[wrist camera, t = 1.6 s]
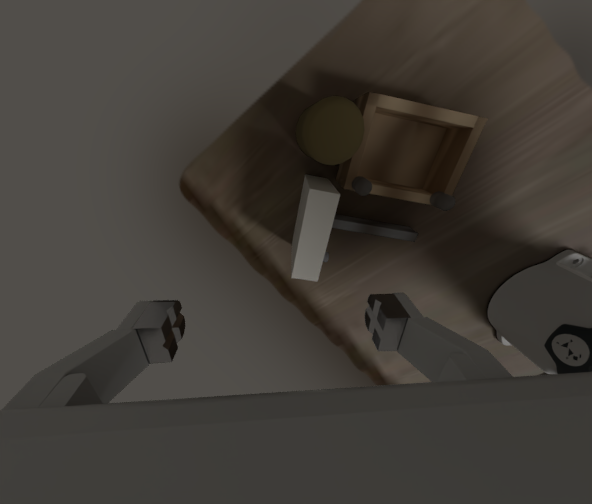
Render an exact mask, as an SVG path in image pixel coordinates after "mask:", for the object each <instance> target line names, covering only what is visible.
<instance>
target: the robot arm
mask: <svg viewBox="0 0 592 504" xmlns="http://www.w3.org/2000/svg"><path fill="white" fill-rule="evenodd" d="M367 302H368V304H369V307H368V308H367V309H366V311H365V323H366V326H367V329H368V331H370V332H371V333H372V334H373V337H372V340H373V342H374V344H375V346H376V348H377V350H378V351H397V352H398V353H399V354H401V355H402V356H403V357H404V358H405V359H406V360H408V361H409V362H410V363H411V364H412V365H413V366H414V367H416V368H417V369H418V370H419V371H420V372H421V373H423V374H424V375H425V376H426V377H427V378H428V379H429V380H431V381H432V382H429V383H413V384H398V385H382V386H367V387H352V388H336V389H321V390H306V391H291V392H276V393H260V394H246V395H245V394H244V395H229V396H214V397H199V398H184V399H168V400H153V401H138V402H124V403H123V402H122V403H109V402H110V401H111V400H112V399H113V398H114V397H115V396H116V395H117V394H118V393H119V392H121V391H122V390H123V389H124V388H125V387H126V386H127V385H128V384H129V383H130V382H131V381H132V380H133V379H134V378H136V377H137V376H138V375H139V374H140V373H141V372H142V371H143V370H144V369H145V368H146V367H147V366H149V364H153V363H165V362H172V361H173V358H174V356H175V354H176V351H177V349H178V346H177V342H179V341H180V340H181V339H182V337H183V334H184V330H185V319H184V316H183V315H182V314H181V313H180V311H181V309H182V307H181V303H180V302H179V301H178V300H170V301H169V300H163V301H160V300H158V301H139V302H137V303H136V305H135V306H134V307H133V308H132V310H131V311H130V313H129V314H128V315H127V316H126V318H125V319H124V320H123V322H122V323H121V324H120V325H119V327H118V328H117V329H116V330H111V331H109V332H108V333H106V334H104V335H103V336H101V337H100V338H97V339H96V340H94V341H92V342H91V343H89V344H87V345H85V346H84V347H82V348H80V349H79V350H77V351H75V352H73V353H72V354H70V355H68V356H66V357H65V358H63V359H61V360H60V361H58V362H56V363H54V364H53V365H51V366H49V367H48V368H46V369H44V370H42V371H41V372H39V373H37V374H35V375H34V377H32V378H31V380H30V381H29V382H28V383H27V384H26V385H25V386H24V387H23V388H22V389H21V390H20V391H19V392H18V393H17V394H16V395H15V396H14V397H13V398H12V399H11V401H10V402H9V403H8V404H7V405H6V406H5V407H4V408H3V409H2V410H0V504H592V259H591V258H589V257H587V256H584V255H582V254H580V253H578V252H575V251H573V250H565V251H563V252H561V253H559V254H557V255H556V256H554V257H553V258H551V259H550V260H548V261H546V262H544V263H541V264H538V265H535V266H532V267H529V268H527V269H525V270H523V271H521V272H519V273H517V274H516V275H514V276H513V277H511V278H510V279H509V280H507V281H506V282H505V283H504V284H503V285H502V286H501V287H500V288H499V289H498V290H497V291H496V293H495V294H494V295H493V297H492V299H491V301H490V303H489V306H488V319H489V321H490V323H491V325H492V326H493V327H494V328H495V329H496V331H497V339H498V341H499V342H501V343H502V344H503V345H513V346H514V347H515V348H516V349H517V350H518V351H520V352H521V353H522V354H523V355H524V356H526V357H527V358H528V359H529V360H530V361H532V362H533V363H534V364H535V365H536V366H538V367H539V368H540V369H541V370H543V371H544V372H546V373H548V374H552V375H536V376H521V377H513V376H512V375H511V374H510V373H509V372H508V371H507V370H506V369H505V368H504V367H503V366H502V365H501V364H500V363H499V361H498V360H497V359H496V358H495V357H494V356H493V355H492V354H491V353H490V352H489V351H488V350H486V349H485V348H483V347H481V346H479V345H477V344H475V343H474V342H472V341H470V340H468V339H466V338H464V337H462V336H461V335H459V334H457V333H455V332H453V331H451V330H450V329H448V328H446V327H444V326H442V325H440V324H439V323H437V322H435V321H433V320H431V319H429V318H428V317H423V316H422V314H421V313H420V312H419V311H418V309H417V308H416V307H415V305H414V304H413V303H412V302H411V300H410V299H409V298H408V297H407V295H406V294H404V293H392V294H370V295H369V297H368V301H367Z"/></svg>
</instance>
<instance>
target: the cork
mask: <svg viewBox="0 0 592 504" xmlns="http://www.w3.org/2000/svg"><path fill="white" fill-rule="evenodd" d="M364 131H365V129H364V119H363V117H362V114H361V112H360V110H359V108H358V107H357V106H356V105H355V104H354V103H353V102H352V101H350V100H349V99H347V98H345V97H341V96H330V97H326V98H323V99H321V100H320V101H318V102H317V103H315V104H314V105H312V106H310V107H309V108H307V109H306V110H305V111H304V112H303V113H302V114H301V116H300V117H299V120H298V122H297V125H296V139H297V143H298V145H299V147H300V149H301V150H302V151H303V152H304V153H305V154H306V155H307V156H309V157H311V158H313V159H315V160H316V161H318V162H320V163H322V164H325V165H336V164H341V163H343V162H345V161H347V160H348V159H350V158H351V157H352V156H353V155H354V154H355V153H356V152H357V151H358V149H359V147H360V145H361V143H362V141H363V136H364Z"/></svg>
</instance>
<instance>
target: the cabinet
mask: <svg viewBox="0 0 592 504" xmlns="http://www.w3.org/2000/svg"><path fill="white" fill-rule="evenodd" d="M355 105H356V106H357V107H358V108H359V110H360V112H361V114H362V117H363V119H364V129H365V131H364V136H363V141H362V143H361V145H360V147H359V149H358V151H357V152H356V153H355V154H354V155H353V156H352V157H351V158H350V159H348V160H347V161H345V162H343V163H341V164H339V168H338V172H337V176H336V181H337V182H338V183H339V184H340V185H341V186H342V187H343V189H347V190H353V191H356V192H357V193H358V194H359V195H362V196H365V195H368V194H374V195H380V196H385V197H390V198H396V199H401V200H407V201H412V202H417V203H423V204H428V205H433V206H435V207H437V208H439V209H441V210H443V211H447V210H450V209H451V208H452V207H453V206H454V205H455V198H454V197H453V196H452V194H453V192H454V190H455V188H456V186H457V184H458V182H459V179H460V177H461V175H462V173H463V171H464V169H465V167H466V164H467V162H468V160H469V158H470V156H471V154H472V152H473V149H474V147H475V145H476V143H477V141H478V139H479V137H480V134H481V132H482V130H483V128H484V126H485V124H486V121H487V119H488V118H483V117H479V116H475V115H470V114H466V113H461V112H457V111H453V110H448V109H444V108H439V107H435V106H431V105H426V104H422V103H417V102H413V101H408V100H404V99H400V98H395V97H391V96H386V95H382V94H378V93H373V92H368V93H366V94H364V95H363V96H361V97H359V98H357V99H355ZM332 228H336V229H342V230H348V231H354V232H360V233H366V234H371V235H377V236H383V237H389V238H395V239H401V240H407V241H413V242H415V240H416V238H417V235H418V233H417V232H416V231H414V230H413V229H412V228H411V227H407V226H401V225H396V224H390V223H384V222H378V221H373V220H367V219H361V218H356V217H350V216H344V215H338V214H335V217H334V221H333V225H332Z"/></svg>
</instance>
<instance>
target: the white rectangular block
mask: <svg viewBox="0 0 592 504" xmlns="http://www.w3.org/2000/svg"><path fill="white" fill-rule="evenodd" d="M339 198H340V193H339V192H338V191H337V189H336V188H335V187H334V186H333V184H332V183H331V182H330V180H329V179H328V178H323V177H317V176H312V175H307V174H305V177H304V183H303V188H302V193H301V198H300V203H299V209H298V214H297V219H296V224H295V229H294V235H293V240H292V268H291V278H297V279H304V280H311V281H317V282H318V278H319V274H320V270H321V267H322V263H323V262H327V261H328V258H329V253H328V252H325V251H326V248H327V244H328V240H329V236H330V232H331V229H332V225H333V221H334V217H335V213H336V210H337V206H338V202H339Z"/></svg>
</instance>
